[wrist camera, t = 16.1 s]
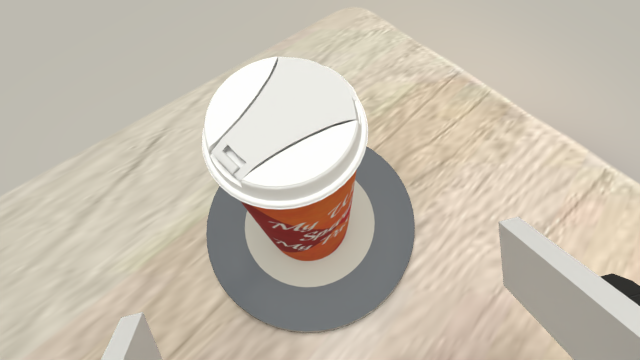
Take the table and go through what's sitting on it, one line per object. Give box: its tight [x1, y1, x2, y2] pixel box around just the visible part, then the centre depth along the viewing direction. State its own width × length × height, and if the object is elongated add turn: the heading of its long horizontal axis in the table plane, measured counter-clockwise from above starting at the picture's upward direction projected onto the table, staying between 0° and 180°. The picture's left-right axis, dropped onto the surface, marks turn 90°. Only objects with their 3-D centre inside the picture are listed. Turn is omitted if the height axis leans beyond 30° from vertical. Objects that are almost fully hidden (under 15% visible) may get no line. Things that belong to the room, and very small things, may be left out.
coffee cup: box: [202, 57, 368, 261], centre depth 28 cm, size 8×8×15 cm
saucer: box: [207, 147, 414, 333], centre depth 35 cm, size 16×16×1 cm
